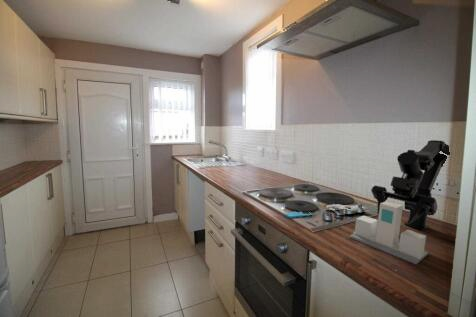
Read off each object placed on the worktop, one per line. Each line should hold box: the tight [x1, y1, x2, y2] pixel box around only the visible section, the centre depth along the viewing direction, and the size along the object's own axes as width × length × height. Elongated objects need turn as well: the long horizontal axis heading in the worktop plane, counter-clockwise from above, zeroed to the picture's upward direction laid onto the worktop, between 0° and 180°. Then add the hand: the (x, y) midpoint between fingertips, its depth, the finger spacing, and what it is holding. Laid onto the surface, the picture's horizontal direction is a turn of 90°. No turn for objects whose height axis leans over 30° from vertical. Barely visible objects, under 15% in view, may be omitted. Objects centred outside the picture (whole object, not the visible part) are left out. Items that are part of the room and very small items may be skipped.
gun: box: [325, 203, 371, 213], centre depth 111 cm, size 18×3×10 cm
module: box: [376, 200, 404, 247], centre depth 79 cm, size 5×5×13 cm
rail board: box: [349, 215, 429, 265], centre depth 80 cm, size 10×20×7 cm, turn 37°
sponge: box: [284, 211, 313, 219], centre depth 105 cm, size 2×12×6 cm
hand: (392, 218), depth 81 cm, fingers open, 9 cm apart
